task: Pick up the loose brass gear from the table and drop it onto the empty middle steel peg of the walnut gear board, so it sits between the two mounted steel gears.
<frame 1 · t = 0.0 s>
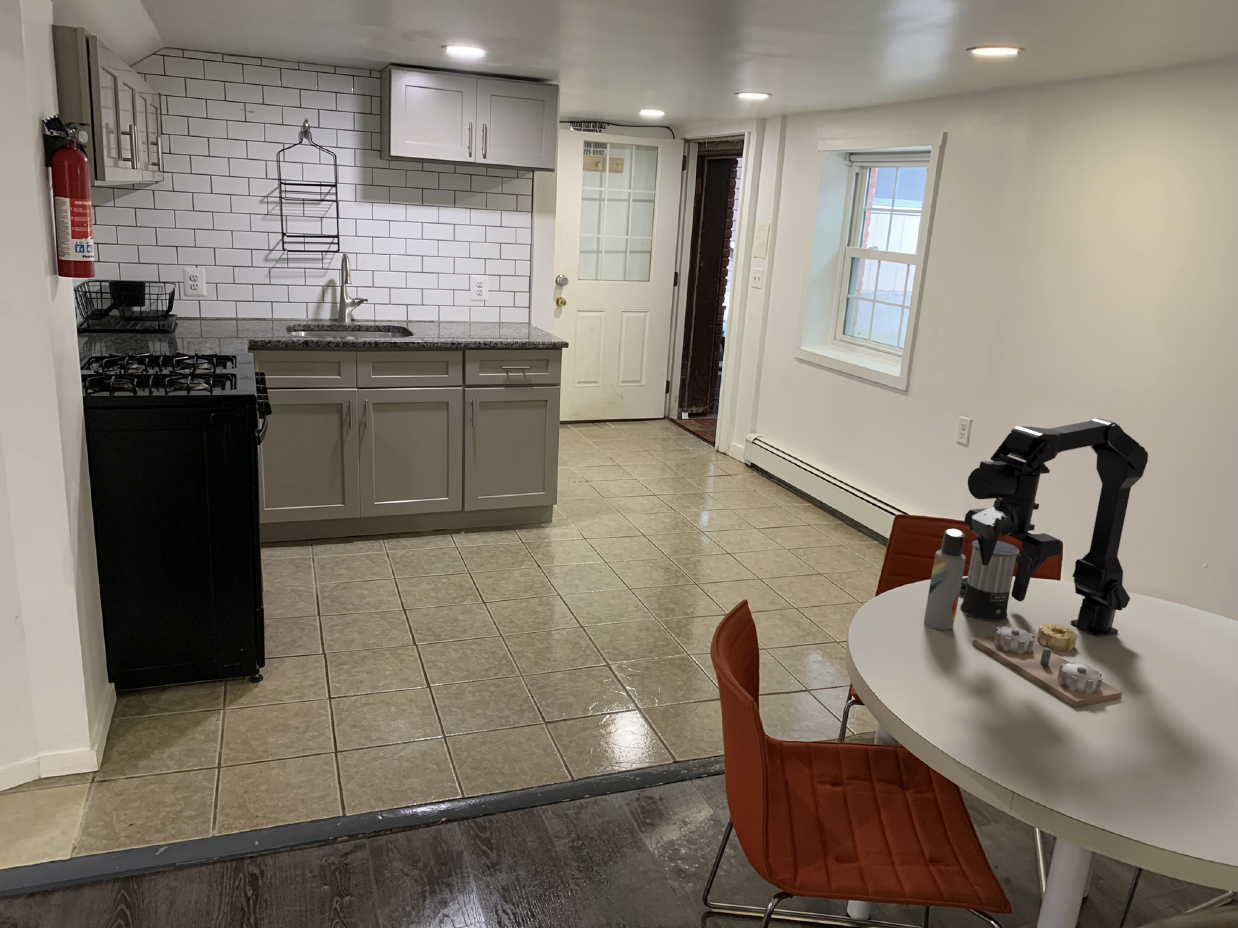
hand: (1003, 574, 174), 15 cm above the table, tool pointing down, fingers open, 9 cm apart
brass gear: (1055, 642, 181), on the table
milk frother: (977, 605, 197), on the table
gear board: (1042, 669, 169), on the table
lotion bottle: (938, 625, 186), on the table
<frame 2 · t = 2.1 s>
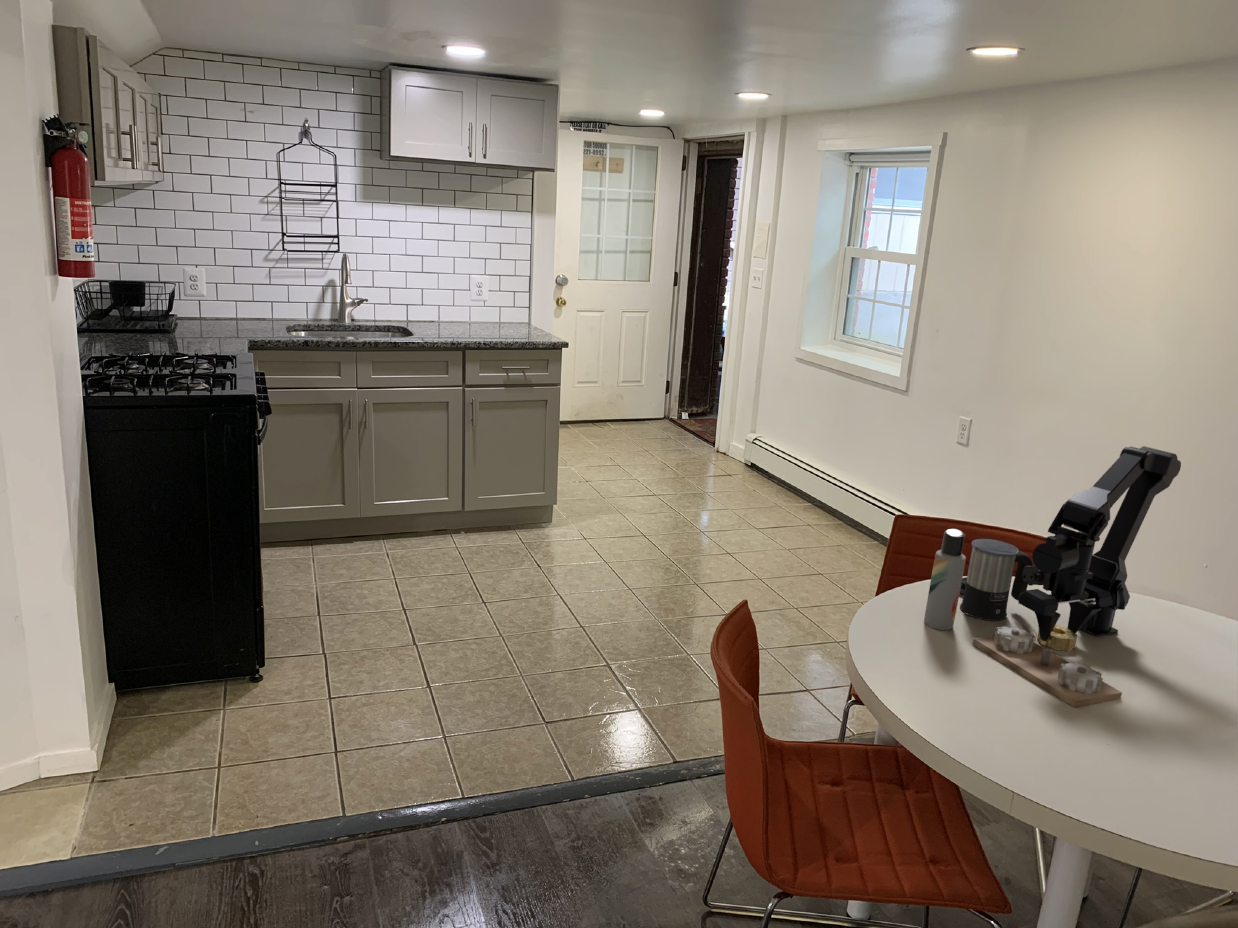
hand: (1056, 637, 181), 1 cm above the table, tool pointing down, fingers closed on brass gear, 7 cm apart
brass gear: (1055, 642, 181), on the table, touching gripper
everything else where it was.
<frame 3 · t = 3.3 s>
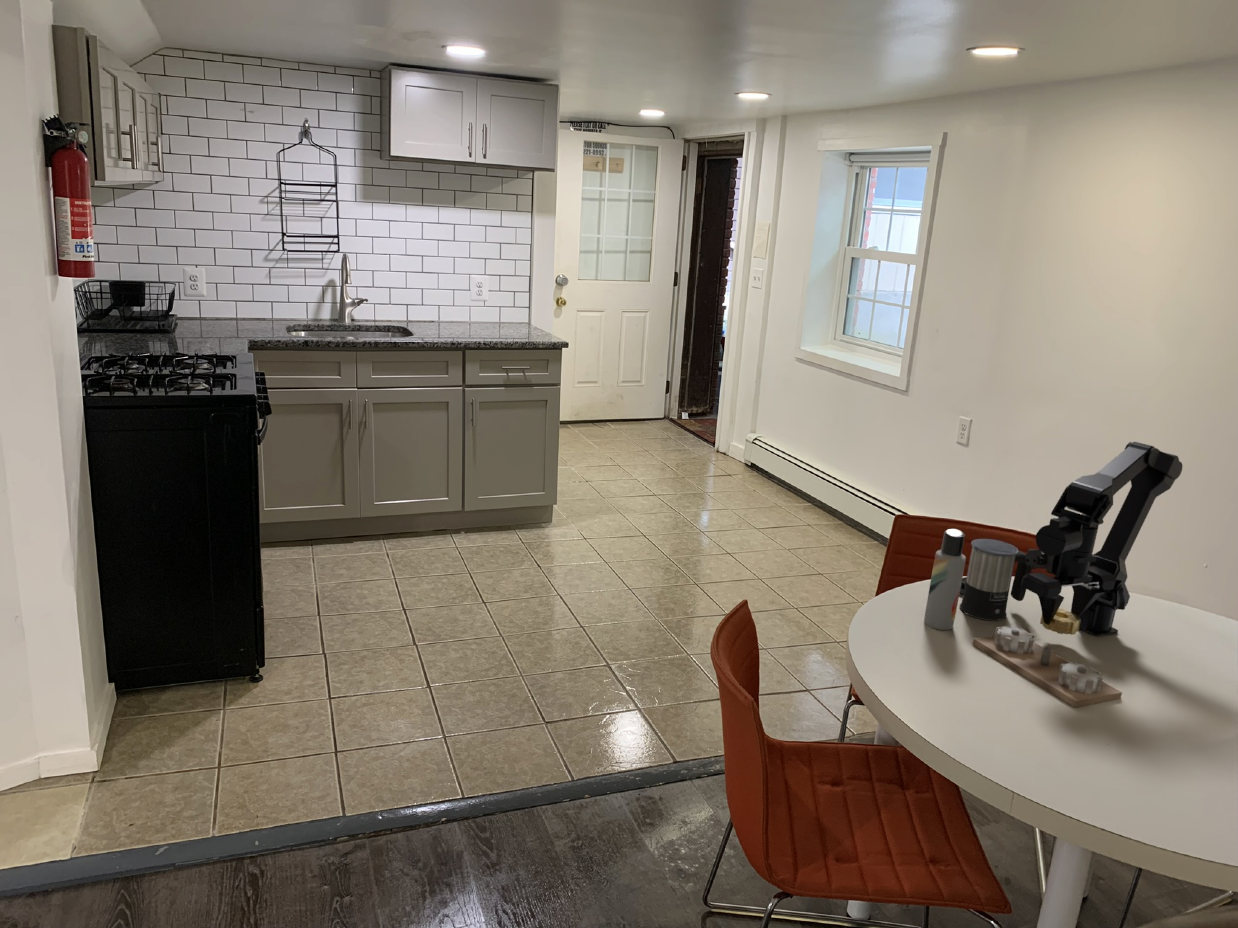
hand: (1059, 621, 180), 5 cm above the table, tool pointing down, fingers closed on brass gear, 7 cm apart
brass gear: (1058, 626, 180), point 3 cm above the table, touching gripper
everything else where it was.
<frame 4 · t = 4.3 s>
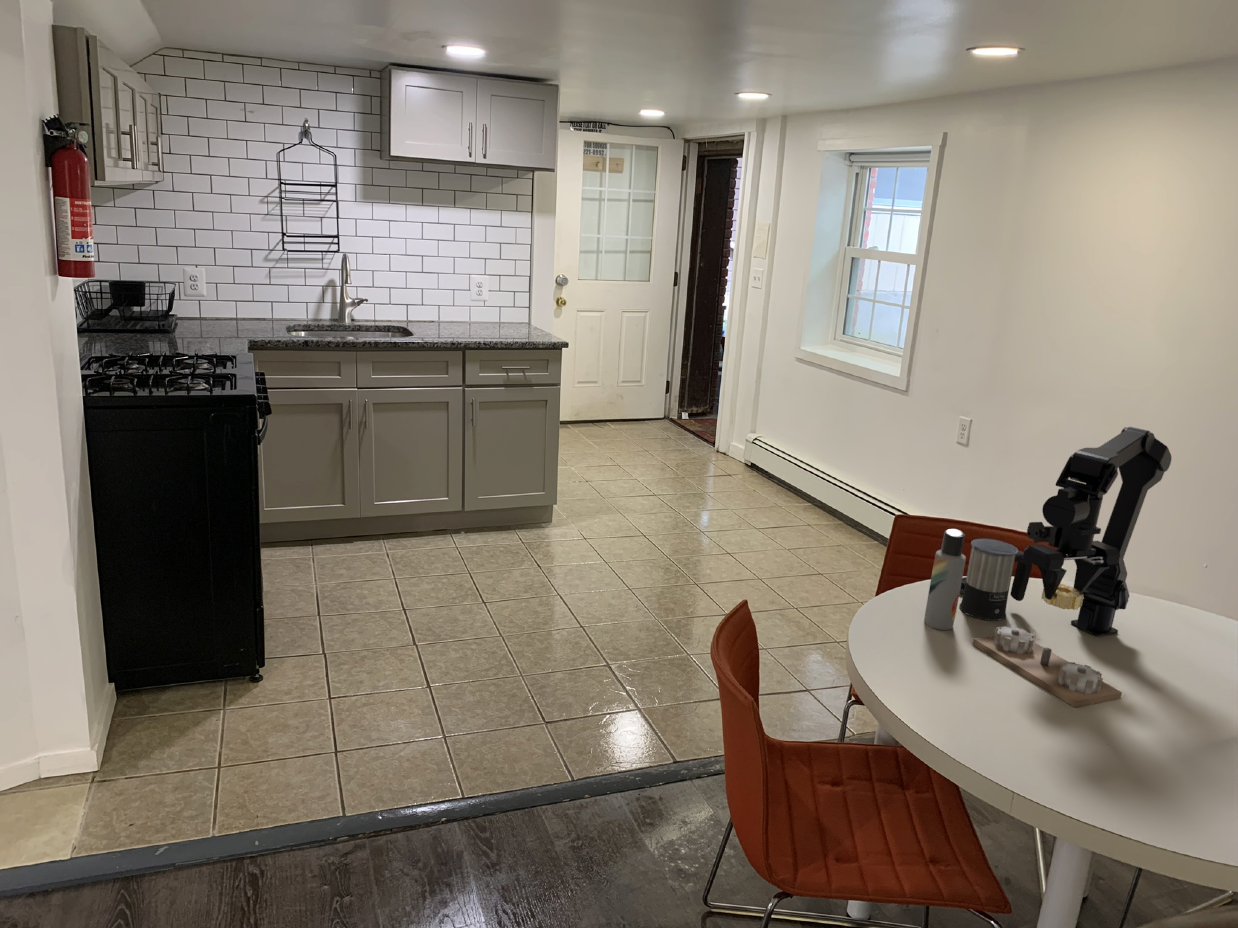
hand: (1062, 597, 174), 11 cm above the table, tool pointing down, fingers closed on brass gear, 7 cm apart
brass gear: (1061, 602, 174), point 10 cm above the table, touching gripper
everything else where it was.
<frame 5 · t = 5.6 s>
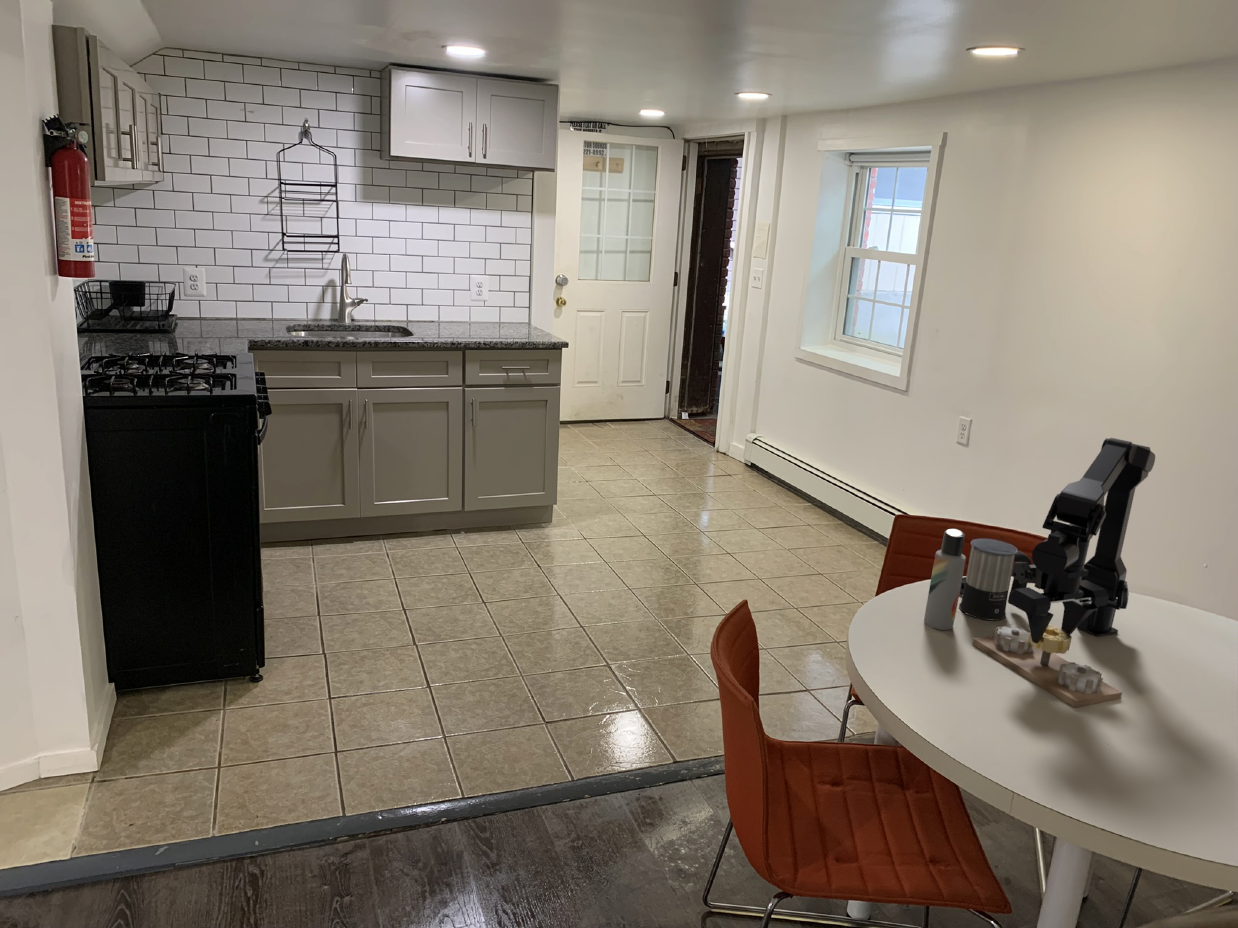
hand: (1049, 640, 168), 6 cm above the table, tool pointing down, fingers closed on brass gear, 7 cm apart
brass gear: (1048, 644, 168), point 5 cm above the table, touching gripper
everything else where it was.
when the fingers open (4 cm above the table, at t = 6.5 s): brass gear drops 2 cm, resting on gear board.
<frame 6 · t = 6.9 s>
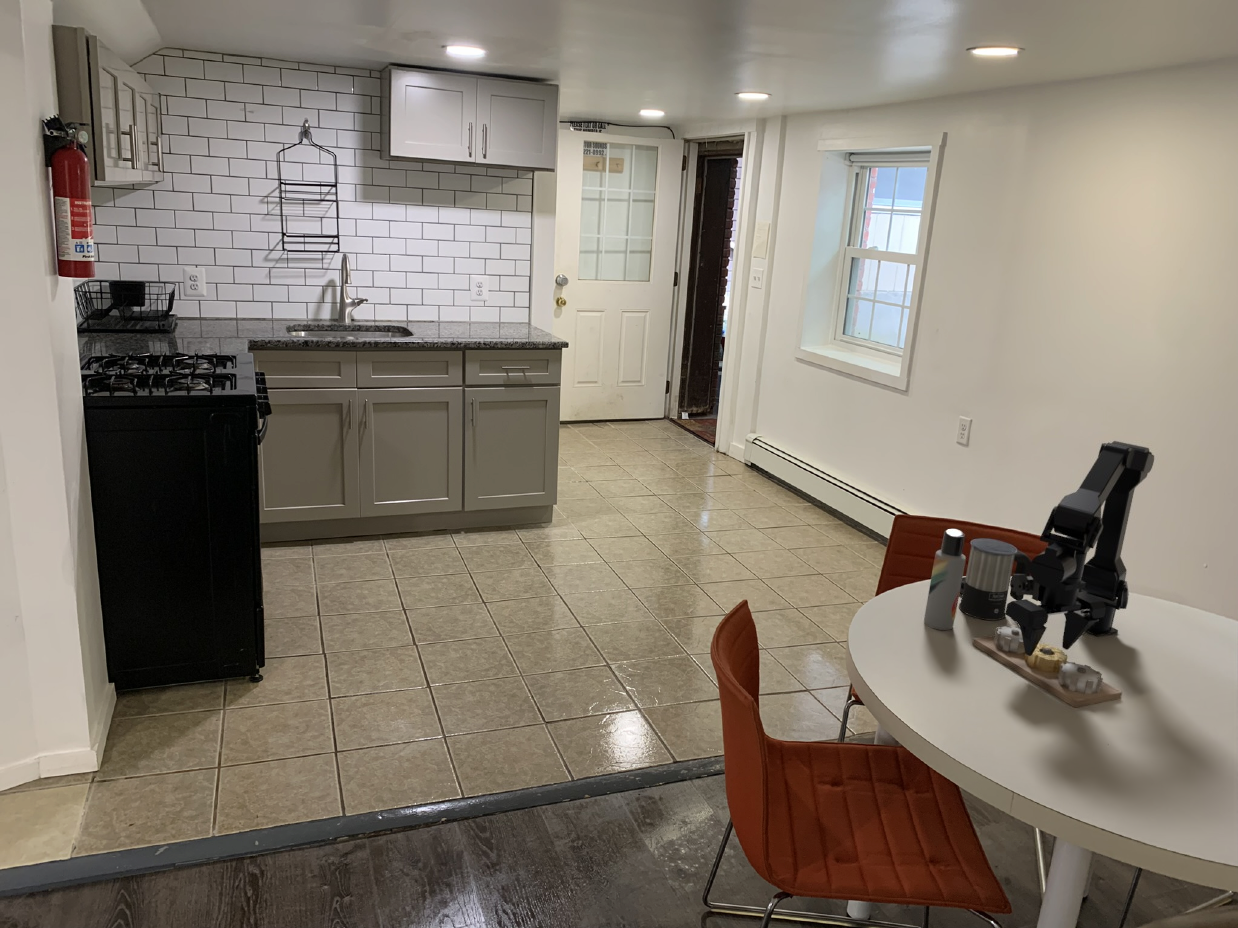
hand: (1046, 651, 168), 4 cm above the table, tool pointing down, fingers open, 9 cm apart
brass gear: (1044, 663, 169), point 1 cm above the table, touching gear board
everything else where it was.
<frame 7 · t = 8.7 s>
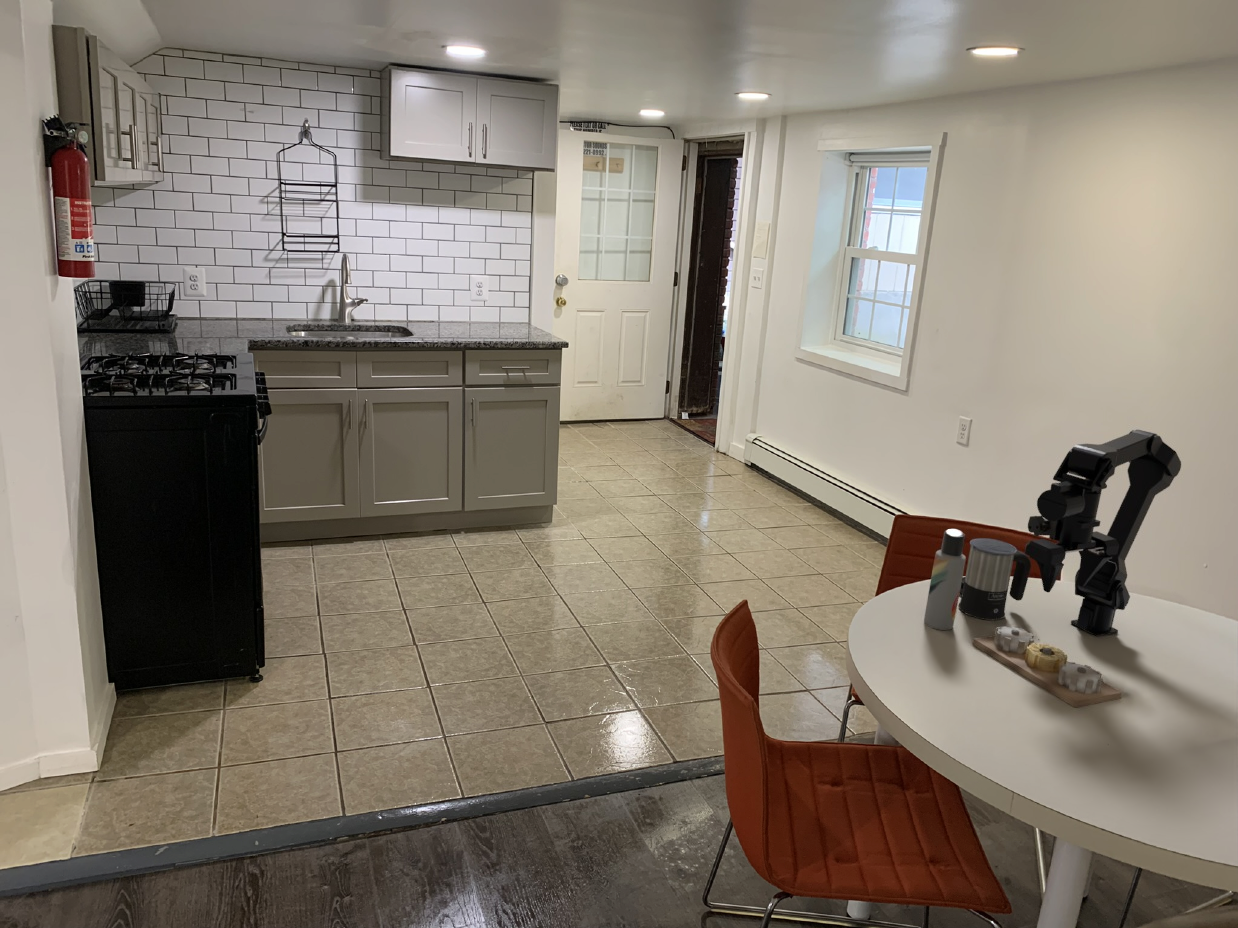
hand: (1063, 588, 178), 12 cm above the table, tool pointing down, fingers open, 9 cm apart
nothing on the table moved.
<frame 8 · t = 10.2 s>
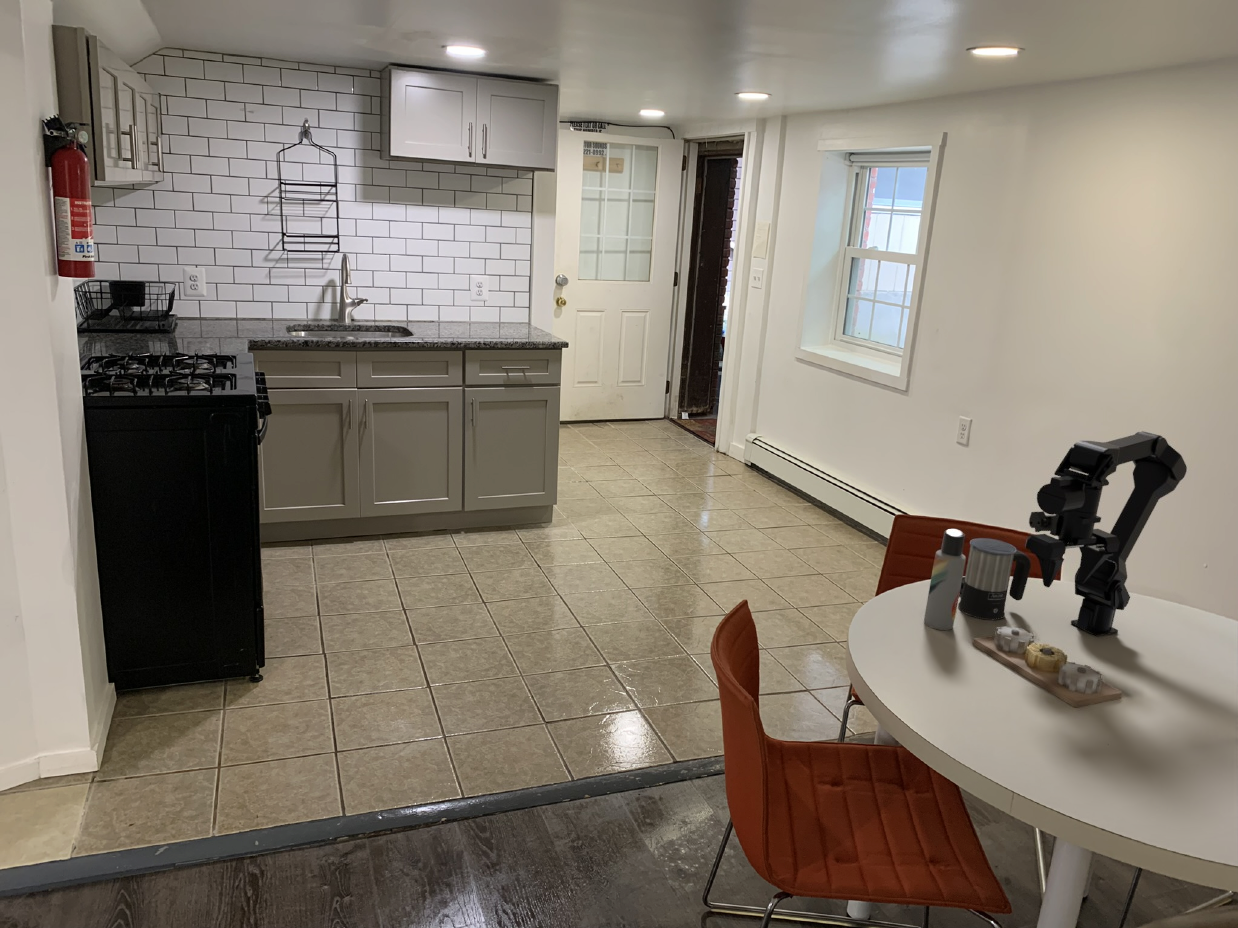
hand: (1063, 584, 179), 12 cm above the table, tool pointing down, fingers open, 9 cm apart
nothing on the table moved.
at the end: brass gear 0.1 cm off-centre on the gear board, point 1.2 cm above the gear board's base; brass gear tilted 0°; the gripper is holding nothing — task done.
